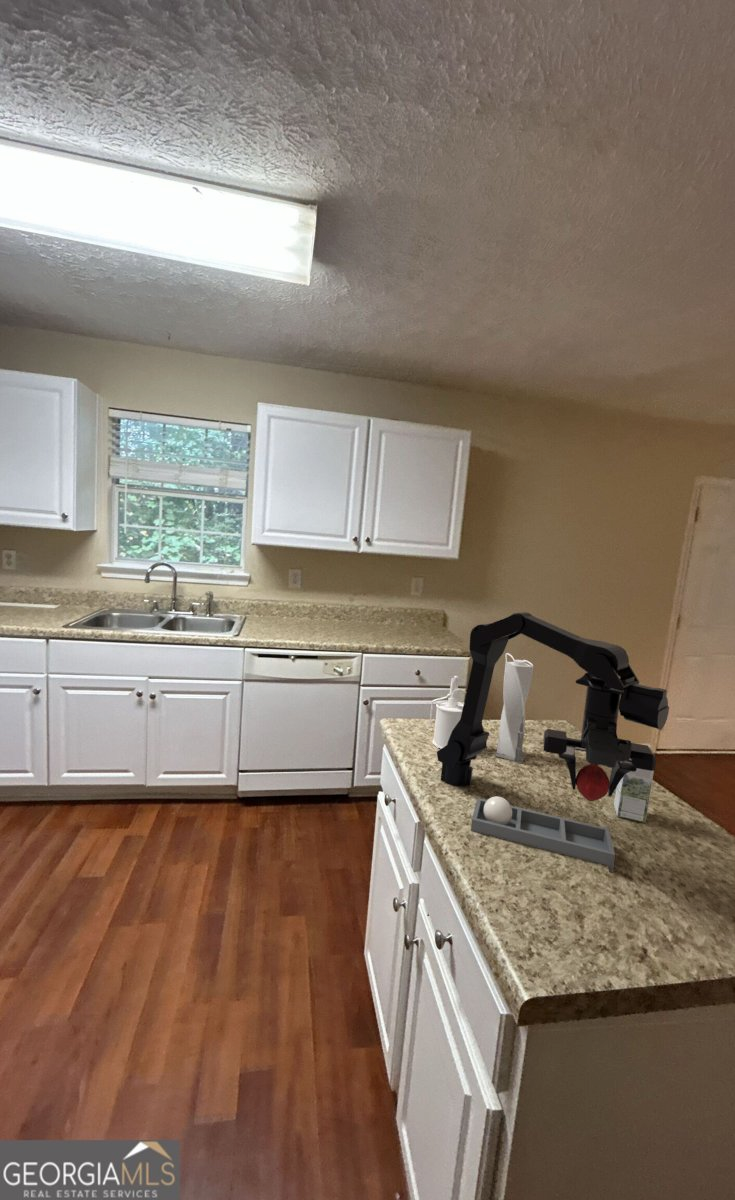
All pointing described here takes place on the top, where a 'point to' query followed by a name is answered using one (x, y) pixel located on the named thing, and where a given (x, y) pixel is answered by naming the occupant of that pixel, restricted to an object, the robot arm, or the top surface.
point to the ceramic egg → (498, 810)
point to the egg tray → (550, 834)
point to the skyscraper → (514, 710)
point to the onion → (592, 782)
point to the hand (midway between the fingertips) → (591, 792)
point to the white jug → (447, 715)
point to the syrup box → (633, 795)
